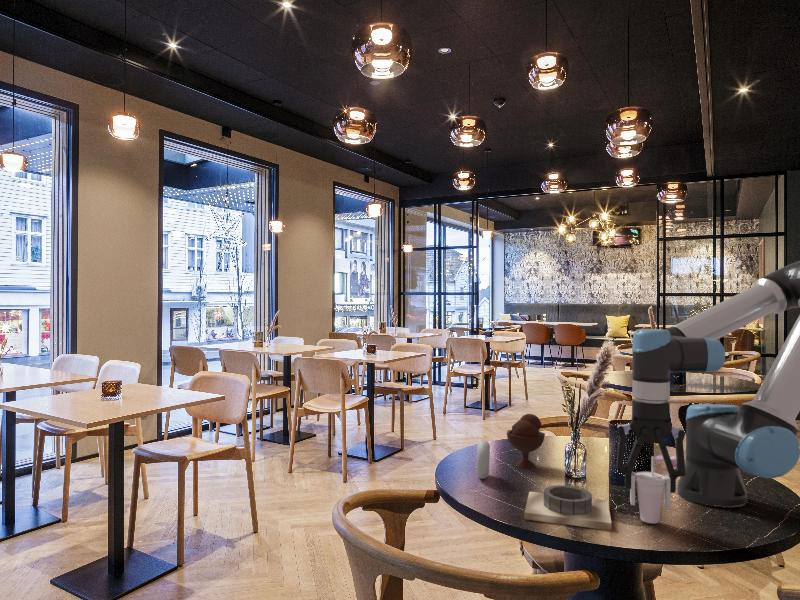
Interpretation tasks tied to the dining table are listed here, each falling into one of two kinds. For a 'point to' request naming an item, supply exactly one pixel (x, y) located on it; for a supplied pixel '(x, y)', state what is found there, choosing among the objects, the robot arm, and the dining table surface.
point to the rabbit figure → (673, 460)
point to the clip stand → (568, 507)
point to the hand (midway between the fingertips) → (649, 504)
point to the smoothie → (650, 494)
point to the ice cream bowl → (526, 438)
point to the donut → (483, 459)
